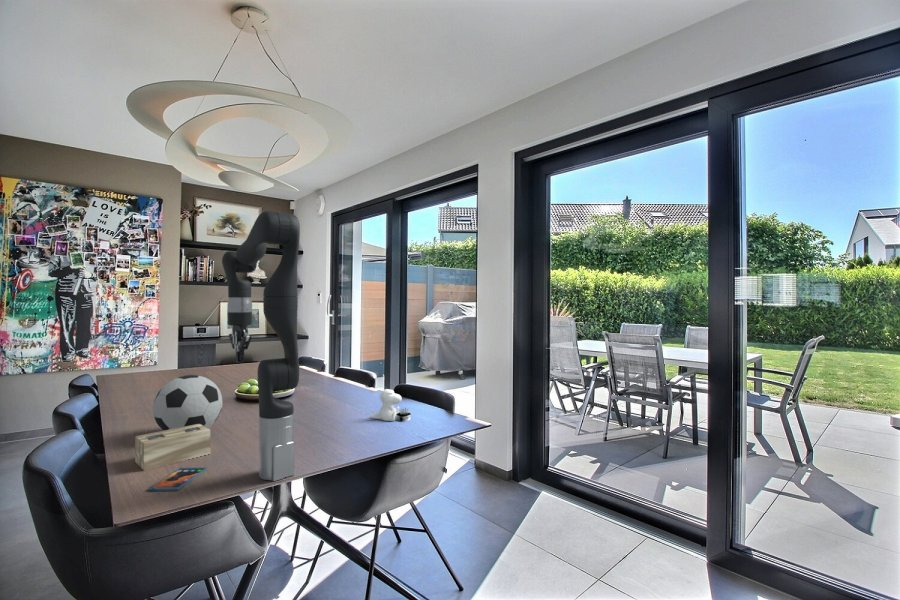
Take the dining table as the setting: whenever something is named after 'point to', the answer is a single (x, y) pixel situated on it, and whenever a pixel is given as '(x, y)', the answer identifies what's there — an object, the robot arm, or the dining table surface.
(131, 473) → the dining table surface
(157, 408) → the soccer ball
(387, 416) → the figurine
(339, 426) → the dining table surface
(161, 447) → the birch block
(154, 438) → the outer peg
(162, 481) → the smartphone
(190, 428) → the inner peg
